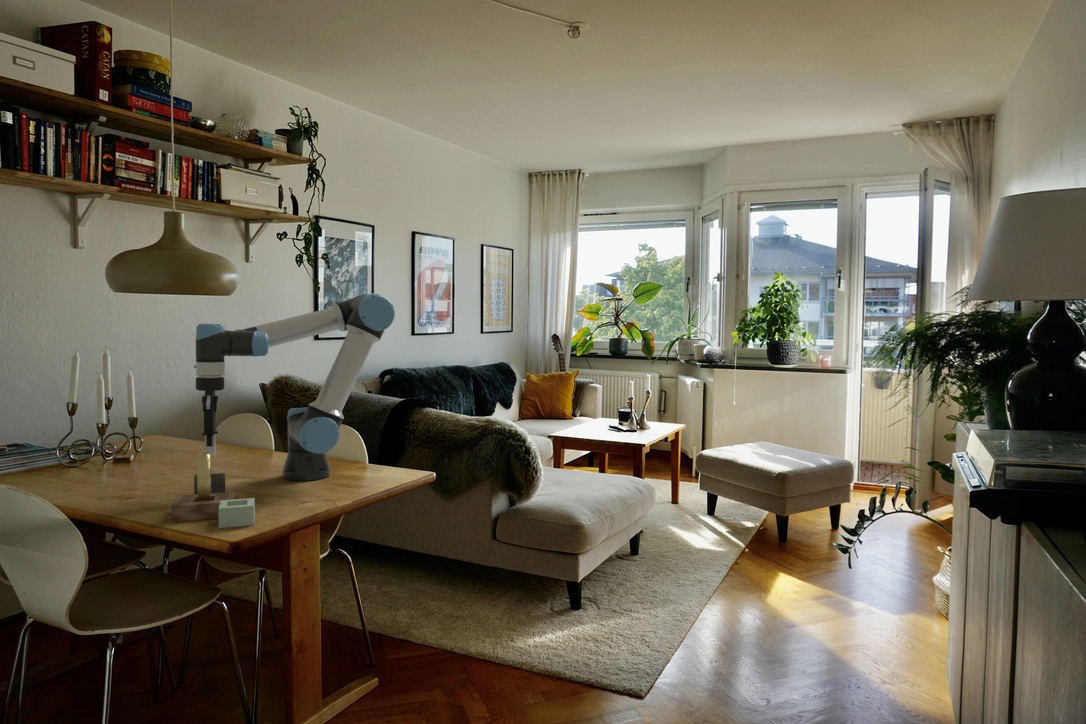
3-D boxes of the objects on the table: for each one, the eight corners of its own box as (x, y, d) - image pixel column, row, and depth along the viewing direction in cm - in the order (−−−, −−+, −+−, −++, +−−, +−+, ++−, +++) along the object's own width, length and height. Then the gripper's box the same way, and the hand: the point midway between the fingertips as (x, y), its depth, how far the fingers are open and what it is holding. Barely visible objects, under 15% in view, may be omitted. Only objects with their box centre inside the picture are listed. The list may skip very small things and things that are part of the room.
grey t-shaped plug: (225, 497, 198) (225, 472, 197) (222, 506, 188) (222, 480, 188) (194, 499, 195) (194, 474, 194) (190, 508, 185) (189, 482, 185)
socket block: (234, 506, 189) (234, 491, 189) (232, 516, 179) (232, 501, 179) (178, 510, 184) (177, 495, 184) (172, 521, 174) (171, 506, 174)
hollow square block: (254, 516, 180) (254, 497, 179) (253, 525, 172) (253, 505, 172) (221, 519, 177) (221, 500, 177) (218, 528, 169) (218, 508, 169)
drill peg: (211, 511, 184) (211, 452, 183) (210, 514, 181) (210, 454, 180) (198, 512, 183) (197, 453, 182) (197, 515, 180) (196, 455, 179)
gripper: (198, 374, 204) (198, 453, 205) (193, 378, 191) (192, 461, 193) (225, 374, 206) (225, 452, 207) (222, 378, 194) (222, 460, 195)
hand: (209, 456), depth 200 cm, fingers closed
